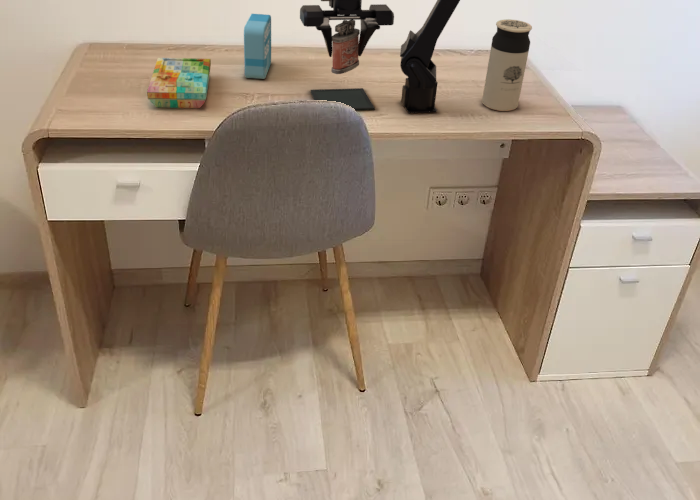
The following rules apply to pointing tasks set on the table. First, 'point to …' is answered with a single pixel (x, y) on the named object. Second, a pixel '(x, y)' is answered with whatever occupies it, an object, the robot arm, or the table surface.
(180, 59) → the puzzle game
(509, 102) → the travel mug
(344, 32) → the lighter
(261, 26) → the data package
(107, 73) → the table surface
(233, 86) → the table surface
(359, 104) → the desk mat
